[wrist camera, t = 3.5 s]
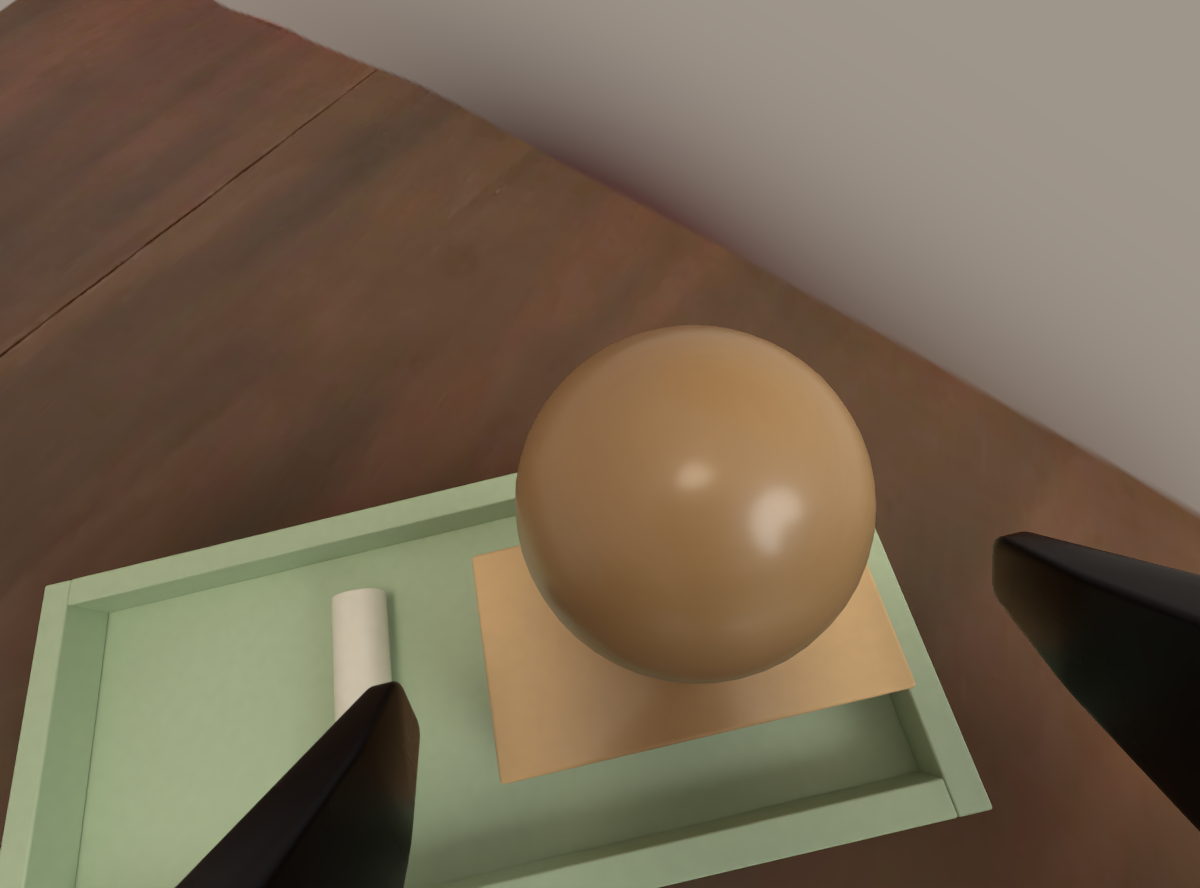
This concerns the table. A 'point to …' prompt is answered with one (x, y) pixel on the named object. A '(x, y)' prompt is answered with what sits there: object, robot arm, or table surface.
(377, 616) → the chalk
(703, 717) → the wooden rubber stamp
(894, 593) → the tray
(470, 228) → the table surface
